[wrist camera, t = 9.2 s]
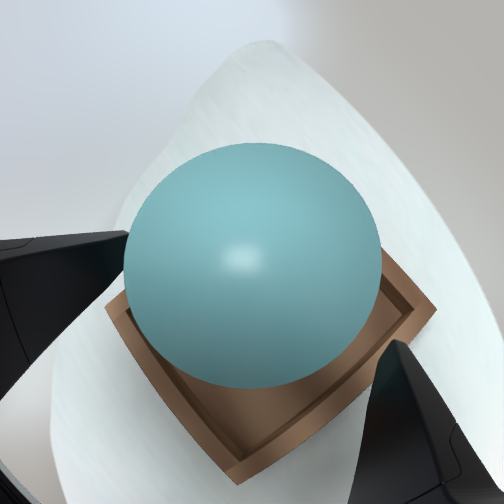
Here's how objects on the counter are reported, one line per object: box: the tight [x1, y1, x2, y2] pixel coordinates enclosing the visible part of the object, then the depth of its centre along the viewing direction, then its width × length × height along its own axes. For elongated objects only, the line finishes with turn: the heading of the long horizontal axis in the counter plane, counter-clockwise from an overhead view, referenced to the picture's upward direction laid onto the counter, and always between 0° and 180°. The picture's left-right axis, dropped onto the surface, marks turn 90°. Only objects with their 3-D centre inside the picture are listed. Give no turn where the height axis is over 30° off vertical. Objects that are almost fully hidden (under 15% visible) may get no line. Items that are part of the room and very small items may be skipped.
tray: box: [104, 247, 437, 486], centre depth 18 cm, size 16×14×3 cm
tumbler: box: [124, 143, 382, 389], centre depth 12 cm, size 6×6×12 cm
